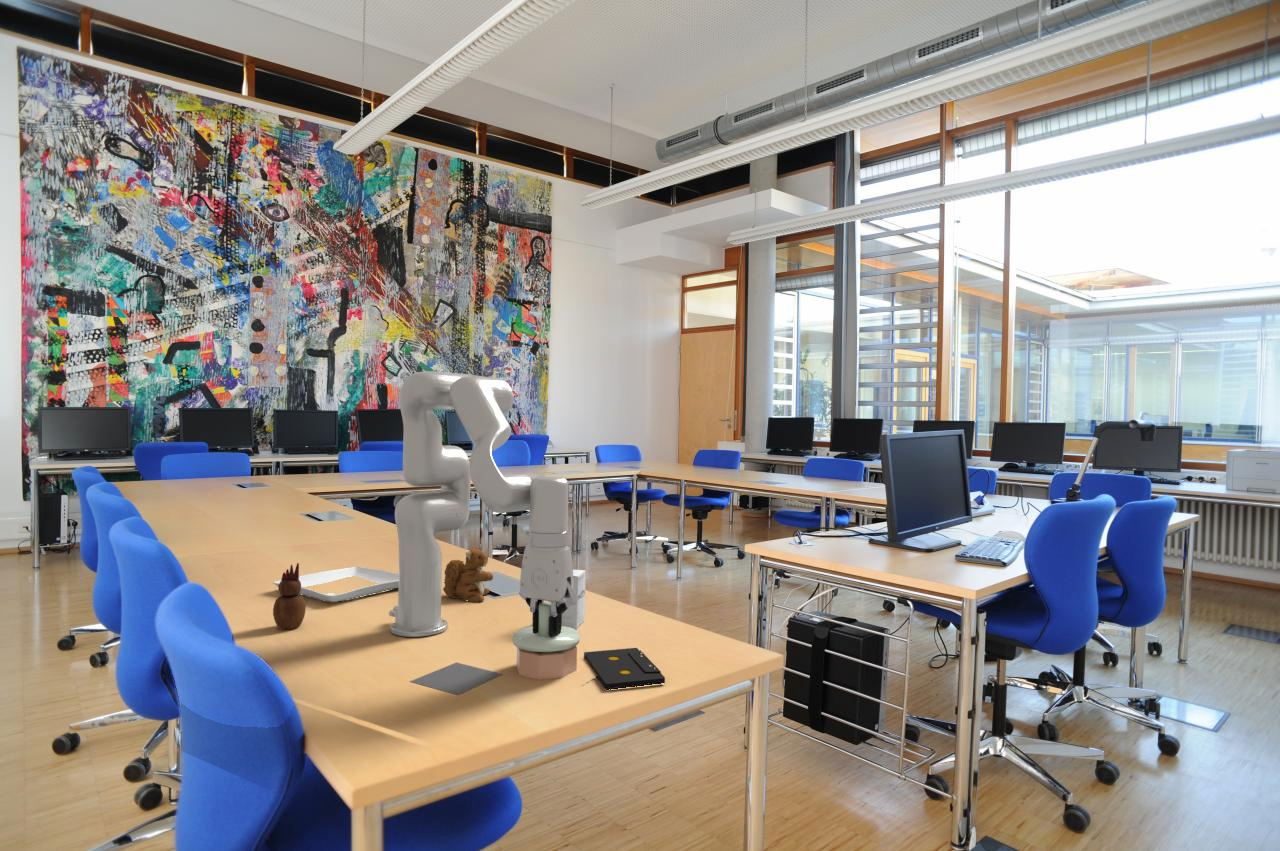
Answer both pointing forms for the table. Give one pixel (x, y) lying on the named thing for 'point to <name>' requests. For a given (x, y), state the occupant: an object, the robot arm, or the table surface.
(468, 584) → the stuffed squirrel
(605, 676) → the cassette tape
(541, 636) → the lid
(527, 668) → the bowl
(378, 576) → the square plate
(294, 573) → the wooden figurine
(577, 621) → the supplement box
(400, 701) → the table surface
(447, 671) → the mat
